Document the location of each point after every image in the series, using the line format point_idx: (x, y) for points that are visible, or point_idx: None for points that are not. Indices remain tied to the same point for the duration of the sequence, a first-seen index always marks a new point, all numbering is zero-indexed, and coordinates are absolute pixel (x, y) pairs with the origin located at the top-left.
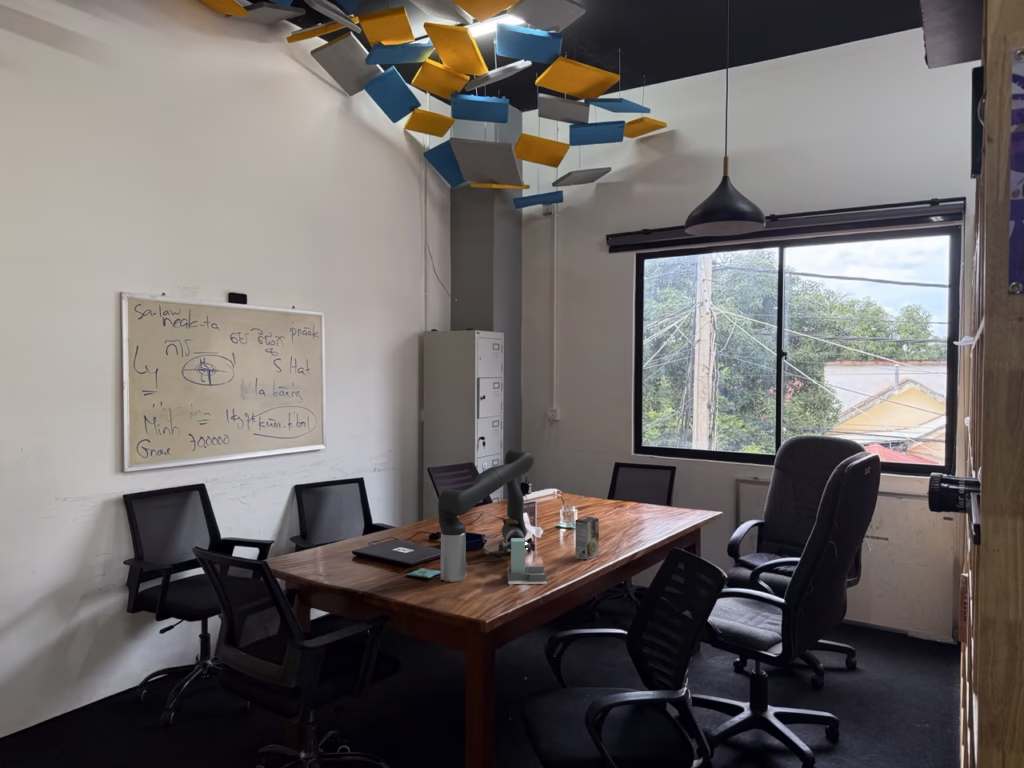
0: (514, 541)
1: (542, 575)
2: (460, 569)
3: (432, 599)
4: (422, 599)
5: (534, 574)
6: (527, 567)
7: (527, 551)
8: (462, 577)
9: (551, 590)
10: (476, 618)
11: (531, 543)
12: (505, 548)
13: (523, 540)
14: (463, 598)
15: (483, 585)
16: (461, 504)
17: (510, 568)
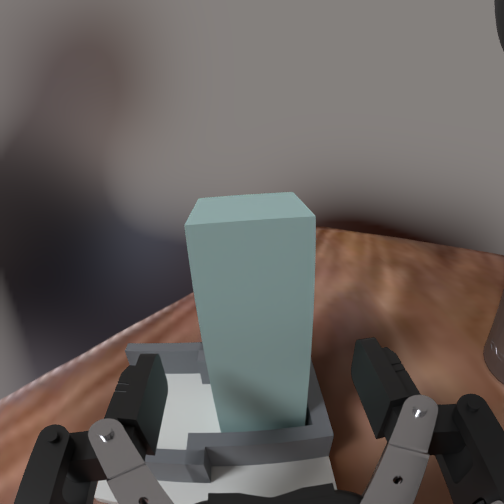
0: (272, 193)
1: (145, 346)
2: (498, 308)
3: (448, 260)
4: (464, 258)
5: (178, 346)
6: (192, 442)
7: (162, 391)
8: (486, 342)
9: (148, 317)
10: (325, 228)
11: (54, 483)
12: (372, 337)
13: (204, 203)
14: (393, 268)
15: (391, 334)
16: (496, 23)
17: (310, 426)
